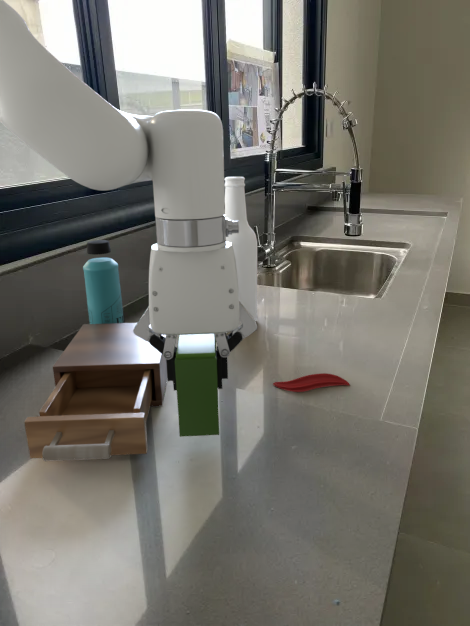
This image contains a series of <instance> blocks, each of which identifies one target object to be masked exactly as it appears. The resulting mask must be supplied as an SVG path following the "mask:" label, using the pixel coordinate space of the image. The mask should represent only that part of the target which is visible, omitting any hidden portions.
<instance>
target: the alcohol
mask: <svg viewBox="0 0 470 626" xmlns="http://www.w3.org/2000/svg"><path fill="white" fill-rule="evenodd" d="M245 180H246V178H245V177H244V176H226V177H224V191H225V218H228V220H232V221H238V222H239V233H232V235H228V237H226V241H228V242H231V243H232V245H233V249H234V254H235V260H236V268H237V278H238V291H239V301H240V302H241V304H242V305H243V306H244V307H245V309H246V310H247V311H248V312H249V314H250V315H251V316H252V318H253V319H254V320H255V321H256V322H257V320H258V239H257V235H256V233H255V231H254V229H253V228H252V227H251V226H250V225H249V222H248V215H247V204H246V203H247V202H246V192H245V186H246V183H245ZM241 324H242V323H241V321H240V320H239V325H238V327H239V326H240V325H241ZM238 327H237V328H238Z"/></svg>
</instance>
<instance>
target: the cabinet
mask: <svg viewBox="0 0 470 626" xmlns="http://www.w3.org/2000/svg"><path fill="white" fill-rule="evenodd" d="M136 324H137V322H125V323H109V324H89V323H84V324H82V326H81V327H80V328H79V330H78V331H77V332H76V334H75V335H74V337H72V340H71V341H70V342H69V344H68V345H67V346H66V347H65V349H64V351H63V352H62V353H61V354H60V356H59V357H58V358H57V360H56V361H55V362H54V364H53V365H52V372H53V379H54V388H55V387H56V385H57V384H58V382H59V381H60V379H61V378H62V376H63V375H64V373H65V372H79V371H109V370H139V369H153V374H154V392H153V396H152V401H151V405H150V408H151V407H163V405H164V399H165V394H164V393H166V389H167V383H168V378H167V363H166V359H165V358H164V357H163V354H161V353H160V352H159V351H158V350H156V349H155V348H154V347H153V346H152V345H151V344H150V343H149V342H147V341H145V340H143V339H141V338H140V337H138V336H136V335H135V334H134V333H133V330H134V328H135V325H136ZM149 327H150V328H151V325H149ZM151 329H152V328H151ZM162 336H164V337H165V338H166V335H162ZM166 382H167V383H166ZM165 387H166V388H165Z"/></svg>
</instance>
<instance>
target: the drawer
mask: <svg viewBox="0 0 470 626" xmlns="http://www.w3.org/2000/svg"><path fill="white" fill-rule="evenodd" d="M153 392H154V374H153V369H139V370H109V371H79V372H65V373H64V375H63V376H62V378H61V379H60V381H59V382H58V384H57V385H56V387H55V386H54V389H53V390H52V391H51V393H50V394H49V396H48V398H47V399H46V401H45V402H44V404H43V405H42V406H41V408H40V410H39V411H38V414H39V416H37V415H36V416H27V417H26V418H25V420H24V422H23V423H24V428H25V435H26V442H27V446H28V453H29V459H42V460H43V462H56V461H57V462H58V461H79V460H106V459H110V458H111V456H125V455H147V453H148V449H149V446H148V434H147V421H148V417H149V413H150V409H151V407H150V405H151V401H152V396H153Z"/></svg>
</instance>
